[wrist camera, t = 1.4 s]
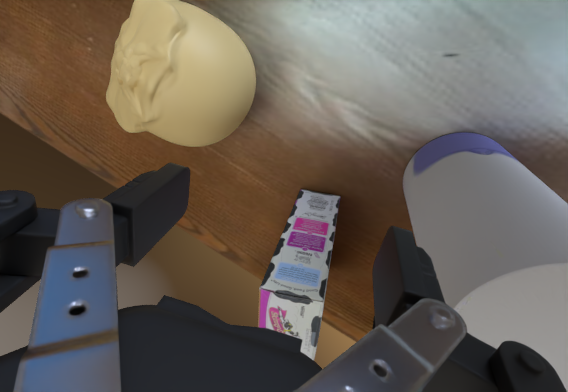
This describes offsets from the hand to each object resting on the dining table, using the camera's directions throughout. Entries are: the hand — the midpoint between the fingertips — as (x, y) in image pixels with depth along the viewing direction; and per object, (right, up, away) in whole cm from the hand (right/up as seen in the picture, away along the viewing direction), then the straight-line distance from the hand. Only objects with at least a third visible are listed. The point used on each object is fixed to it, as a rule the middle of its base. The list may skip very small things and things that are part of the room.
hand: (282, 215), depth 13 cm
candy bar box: (+4, -3, +27) cm, 27 cm away
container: (+17, +2, +21) cm, 27 cm away
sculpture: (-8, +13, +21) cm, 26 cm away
